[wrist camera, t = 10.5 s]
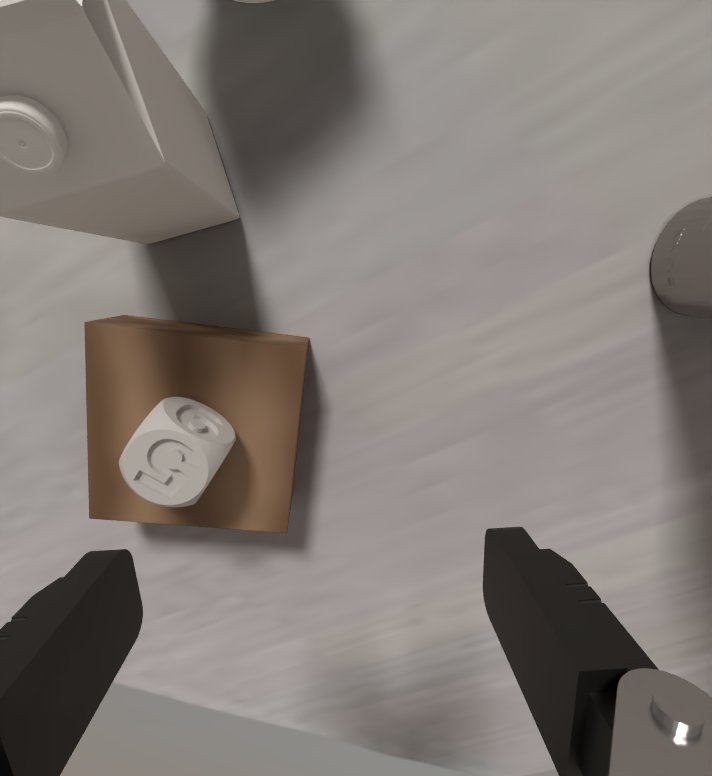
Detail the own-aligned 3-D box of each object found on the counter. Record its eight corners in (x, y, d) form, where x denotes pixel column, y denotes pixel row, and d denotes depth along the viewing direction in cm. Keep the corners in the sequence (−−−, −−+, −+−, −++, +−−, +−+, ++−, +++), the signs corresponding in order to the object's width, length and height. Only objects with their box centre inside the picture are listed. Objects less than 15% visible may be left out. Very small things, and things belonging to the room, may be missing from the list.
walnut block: (309, 336, 33) (306, 349, 28) (292, 493, 37) (286, 532, 31) (127, 314, 32) (84, 322, 26) (127, 479, 35) (89, 518, 30)
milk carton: (106, 139, 28) (-286, -109, 10) (206, 111, 28) (-5, -188, 10) (147, 245, 30) (-121, 196, 12) (241, 218, 30) (116, 130, 12)
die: (142, 446, 29) (104, 480, 24) (177, 387, 28) (146, 410, 23) (207, 481, 30) (184, 521, 25) (243, 426, 29) (227, 455, 24)
